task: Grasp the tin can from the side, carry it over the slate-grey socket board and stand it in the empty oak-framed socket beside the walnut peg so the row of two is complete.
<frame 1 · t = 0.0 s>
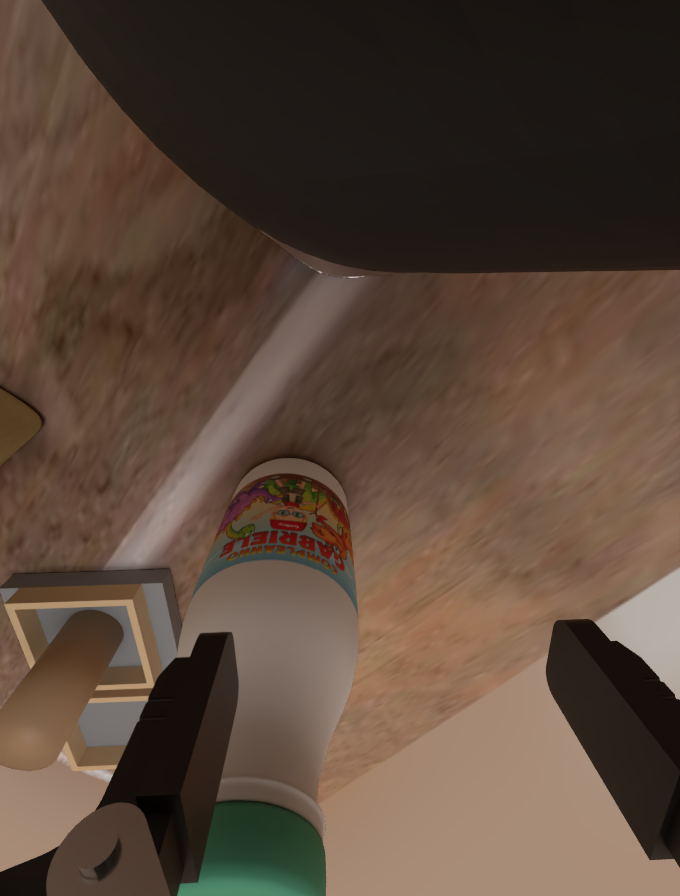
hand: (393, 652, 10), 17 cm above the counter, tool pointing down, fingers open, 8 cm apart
milk bottle: (291, 504, 28), on the counter
socket board: (118, 659, 33), on the counter
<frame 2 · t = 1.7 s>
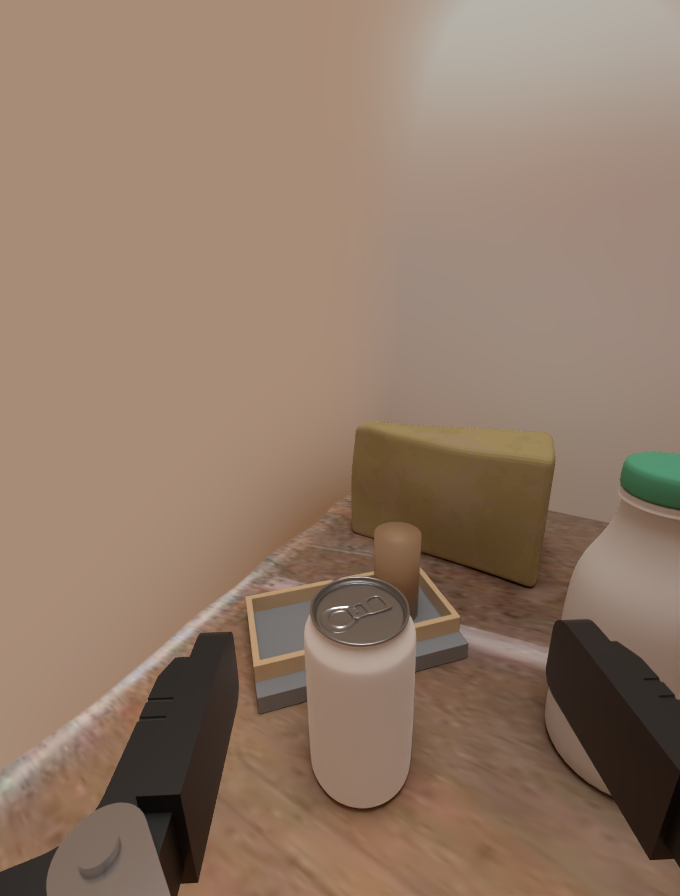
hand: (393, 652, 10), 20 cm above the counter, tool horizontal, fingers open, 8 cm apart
milk bottle: (606, 745, 28), on the counter
can: (360, 758, 27), on the counter
cheese: (436, 548, 51), on the counter
socket board: (349, 633, 37), on the counter
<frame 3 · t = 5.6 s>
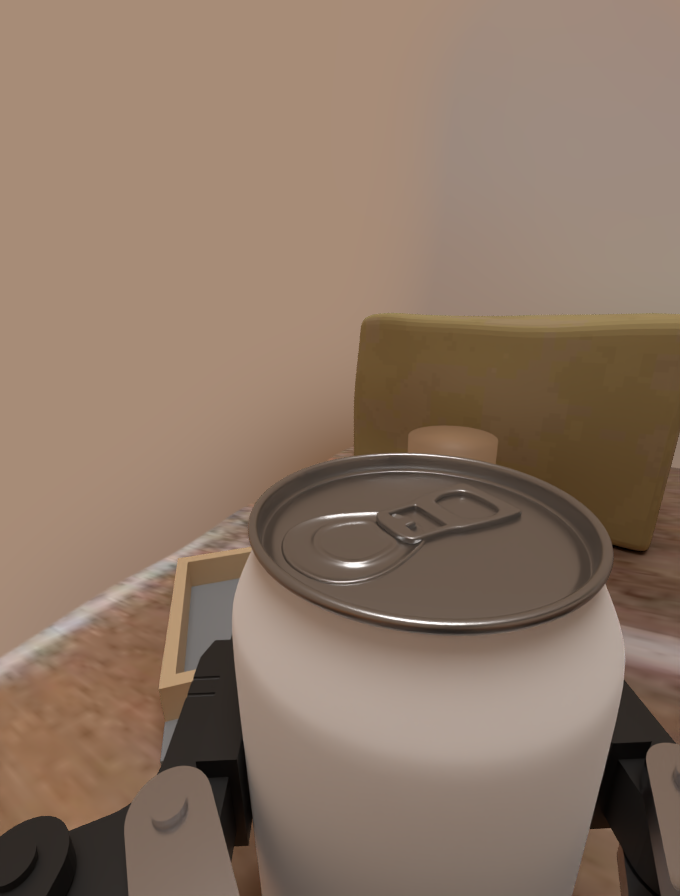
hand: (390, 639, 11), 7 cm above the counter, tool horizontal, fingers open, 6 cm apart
cheese: (478, 503, 34), on the counter
socket board: (359, 624, 21), on the counter
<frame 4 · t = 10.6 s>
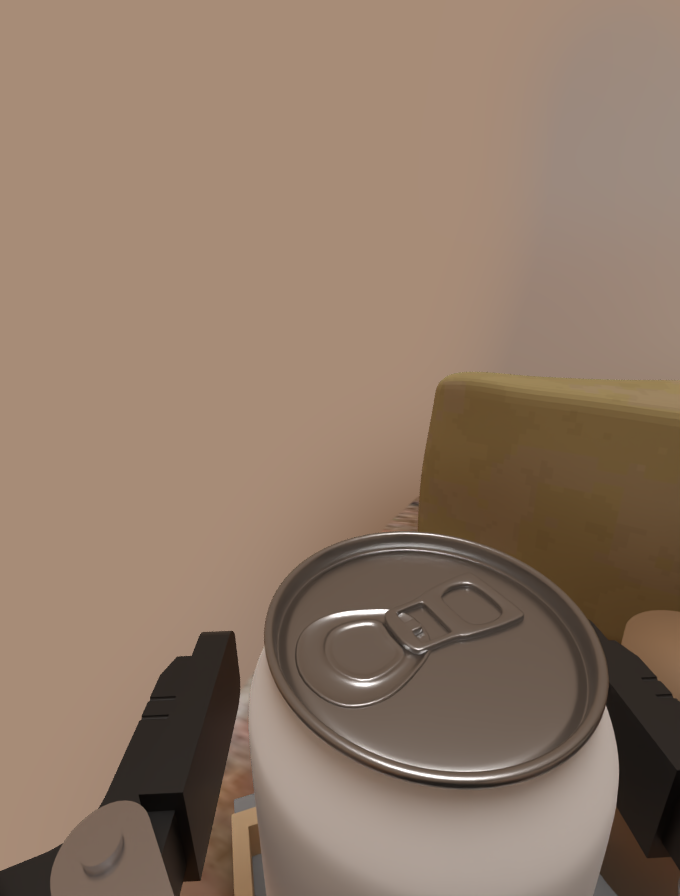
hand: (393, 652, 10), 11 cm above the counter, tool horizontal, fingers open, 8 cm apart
cheese: (585, 615, 27), on the counter
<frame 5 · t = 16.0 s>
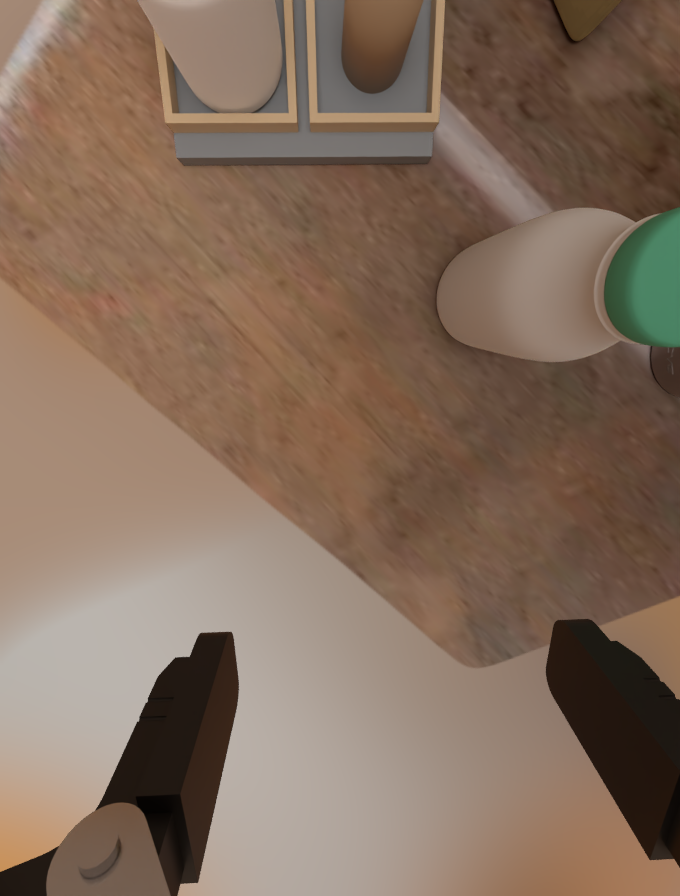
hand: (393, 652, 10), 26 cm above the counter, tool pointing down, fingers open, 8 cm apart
milk bottle: (481, 296, 33), on the counter
can: (232, 59, 26), point 1 cm above the counter, touching socket board
socket board: (302, 68, 28), on the counter
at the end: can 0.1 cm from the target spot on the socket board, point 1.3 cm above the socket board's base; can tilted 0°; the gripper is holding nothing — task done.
